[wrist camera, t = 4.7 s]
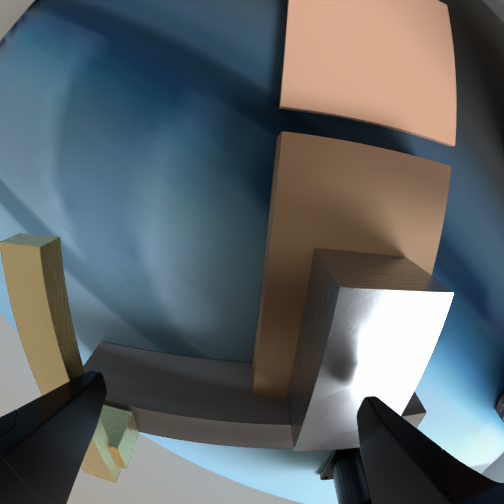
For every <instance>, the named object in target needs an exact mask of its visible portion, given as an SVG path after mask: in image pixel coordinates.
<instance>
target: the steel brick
mask: <svg viewBox="0 0 504 504" xmlns="http://www.w3.org/2000/svg"><path fill="white" fill-rule="evenodd" d="M453 295H454V292H453V291H451V290H450V289H449V288H447V287H446V286H445V285H443V284H442V283H441V282H440V281H438V280H437V279H436V278H434V277H433V276H432V275H430V274H429V273H427V272H426V271H425V270H423V269H422V268H421V267H419V266H418V265H417V264H415V263H414V262H412V261H411V260H410V259H408V258H407V257H403V256H393V255H383V254H373V253H363V252H353V251H343V250H332V249H322V248H314V252H313V259H312V265H311V271H310V277H309V283H308V289H307V295H306V301H305V306H304V312H303V317H302V322H301V328H300V333H299V338H298V343H297V348H296V353H295V357H294V362H293V367H292V371H291V376H290V380H289V385H288V389H287V400H288V408H289V417H290V425H291V434H292V442H293V451H294V452H298V451H323V450H337V449H348V448H357V447H360V442H359V434H358V426H357V418H356V416H357V411H358V409H359V407H360V405H361V403H362V400H363V399H364V397H366V396H377V397H378V398H379V399H381V400H382V401H383V402H384V403H386V404H387V405H388V406H389V407H390V408H392V409H393V410H394V411H395V412H397V413H398V414H399V415H400V416H401V414H402V413H403V411H404V409H405V407H406V405H407V403H408V402H409V400H410V398H411V396H412V394H413V392H414V390H415V388H416V386H417V384H418V382H419V380H420V378H421V376H422V374H423V372H424V370H425V367H426V365H427V363H428V361H429V358H430V356H431V354H432V351H433V349H434V347H435V344H436V342H437V339H438V337H439V334H440V332H441V329H442V327H443V324H444V321H445V318H446V316H447V313H448V310H449V307H450V304H451V301H452V298H453Z"/></svg>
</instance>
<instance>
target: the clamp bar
mask: <svg viewBox="0 0 504 504" xmlns="http://www.w3.org/2000/svg"><path fill="white" fill-rule="evenodd" d="M0 250H1V257H2V264H3V269H4V275H5V280H6V285H7V290H8V294H9V299H10V303H11V307H12V311H13V315H14V318H15V322H16V325H17V329H18V332H19V335H20V339H21V342H22V344H23V348H24V351H25V353H26V356H27V359H28V362H29V365H30V367H31V370H32V372H33V375H34V378H35V380H36V382H37V385H38V387H39V389H40V392H41V394H42V396H43V395H45V394H46V393H48V392H50V391H52V390H54V389H56V388H58V387H59V386H61V385H63V384H65V383H67V382H69V381H71V380H72V379H74V378H76V377H78V376H80V375H82V374H83V373H85V372H84V368H83V364H82V361H81V357H80V353H79V349H78V345H77V341H76V337H75V333H74V328H73V323H72V319H71V314H70V308H69V303H68V297H67V291H66V285H65V278H64V270H63V262H62V253H61V242H60V237H54V236H43V235H32V234H21V233H19V234H17V235H15V236H12V237H10V238H8V239H5V240H3V241H1V242H0ZM138 437H139V433H138V429H137V426H136V422H135V418H134V415H133V412H130V411H126V410H122V409H118V408H114V407H110V406H106V405H103V408H102V411H101V414H100V418H99V421H98V424H97V427H96V430H95V433H94V435H93V437H92V440H91V442H90V445H89V447H88V449H87V452H86V454H85V457H84V459H83V461H82V464H81V466H80V467H81V468H82V470H83V471H84V472H85V473H88V474H91V475H93V476H96V477H99V478H102V479H105V480H108V481H111V482H114V483H117V480H118V477H119V474H120V472H121V468H124V469H127V467H128V464H129V461H130V459H131V455H132V452H133V450H134V447H135V444H136V442H137V439H138Z"/></svg>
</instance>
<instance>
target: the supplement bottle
mask: <svg viewBox="0 0 504 504" xmlns="http://www.w3.org/2000/svg"><path fill="white" fill-rule="evenodd" d="M496 412H497V413H498V415H499V417H500V418H501V419H502V421H503V422H504V392H503V394H502V395H501V397H500V399H499V401H498V403H497V406H496Z"/></svg>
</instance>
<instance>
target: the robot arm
mask: <svg viewBox="0 0 504 504" xmlns="http://www.w3.org/2000/svg"><path fill="white" fill-rule="evenodd" d="M106 395H107V388H106V384H105V380H104V376H103V374H102V372H100V371H96V370H89V371H87V372H85V373H83V374H82V375H80V376H78V377H76V378H74V379H72V380H71V381H69V382H67V383H65V384H63V385H61V386H59V387H58V388H56V389H54V390H52V391H50V392H48V393H46V394H45V395H43V396H41V397H39V398H37V399H35V400H33V401H32V402H29V403H28V404H26V405H24V406H22V407H20V408H18V410H14V411H12V412H10V413H8V414H6V415H4V416H2V417H0V504H66V503H67V500H68V498H69V495H70V492H71V490H72V487H73V484H74V482H75V479H76V477H77V474H78V471H79V469H80V466H81V464H82V461H83V459H84V457H85V454H86V452H87V449H88V447H89V445H90V442H91V440H92V437H93V435H94V433H95V430H96V427H97V424H98V421H99V418H100V414H101V411H102V408H103V404H104V401H105V398H106ZM356 418H357V426H358V434H359V442H360V447H357V448H348V449H337V450H333V452H332V454H331V456H330V458H329V460H328V462H327V464H326V465H325V467H324V469H323V471H322V473H321V474H320V479H321V480H329V479H334V484H335V489H336V494H337V499H338V504H504V483H498V482H495V481H493V480H491V479H489V478H487V477H485V476H483V475H482V474H480V473H478V472H476V471H475V470H473V469H471V468H470V467H468V466H466V465H465V464H463V463H462V462H460V461H459V460H457V459H456V458H454V457H453V456H452V455H450V454H449V453H448V452H446V451H445V450H444V449H442V448H441V447H440V446H438V445H437V444H436V443H435V442H433V441H432V440H431V439H429V438H428V437H427V436H426V435H424V434H423V433H422V432H421V431H419V430H418V429H417V428H415V427H414V426H413V425H412V424H410V423H409V422H408V421H407V420H405V419H404V418H403V417H402V416H400V415H399V414H398V413H397V412H395V411H394V410H393V409H392V408H390V407H389V406H388V405H387V404H386V403H384V402H383V401H382V400H381V399H379V398H378V397H377V396H366V397H364V399H363V400H362V403H361V405H360V407H359V409H358V411H357V416H356Z"/></svg>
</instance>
